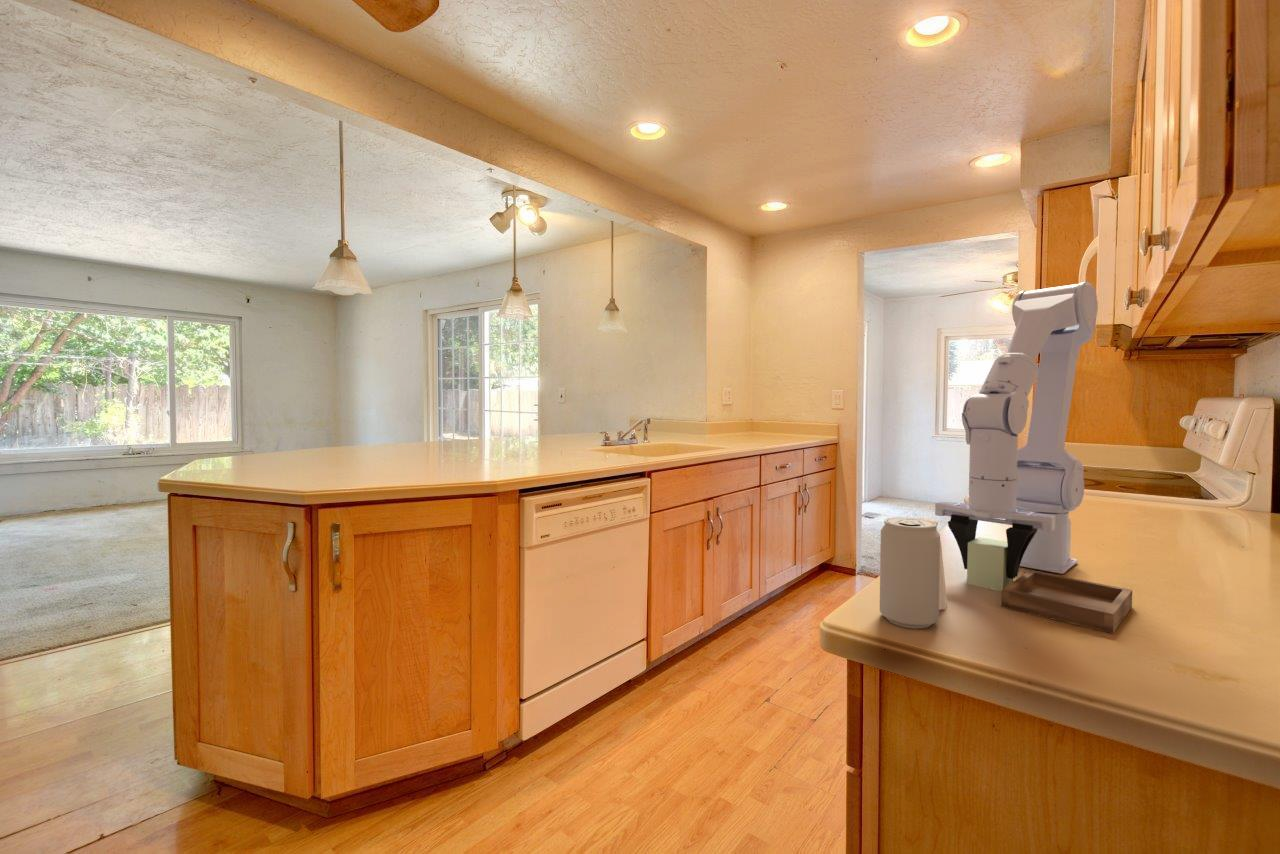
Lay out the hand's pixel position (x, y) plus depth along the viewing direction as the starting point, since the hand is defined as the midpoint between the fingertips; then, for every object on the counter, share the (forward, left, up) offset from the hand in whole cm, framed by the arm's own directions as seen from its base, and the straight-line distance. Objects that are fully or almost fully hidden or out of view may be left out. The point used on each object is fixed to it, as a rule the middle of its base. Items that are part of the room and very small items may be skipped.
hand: (990, 572), depth 80 cm
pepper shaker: (+15, -3, -2) cm, 15 cm away
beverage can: (+22, -2, -2) cm, 22 cm away
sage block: (0, 0, -2) cm, 2 cm away
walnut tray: (+3, +10, -2) cm, 10 cm away
